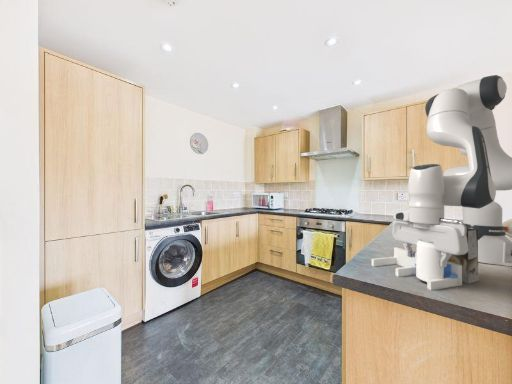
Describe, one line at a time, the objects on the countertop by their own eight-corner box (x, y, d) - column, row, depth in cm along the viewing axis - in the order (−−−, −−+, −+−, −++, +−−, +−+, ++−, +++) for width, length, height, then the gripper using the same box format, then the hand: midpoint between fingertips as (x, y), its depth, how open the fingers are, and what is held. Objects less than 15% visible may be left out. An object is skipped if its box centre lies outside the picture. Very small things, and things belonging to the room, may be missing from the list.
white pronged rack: (397, 262, 83) (397, 247, 83) (461, 285, 62) (462, 265, 62) (371, 265, 79) (371, 249, 79) (430, 290, 59) (430, 269, 59)
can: (449, 285, 61) (449, 243, 61) (423, 283, 62) (424, 242, 62) (434, 276, 67) (435, 238, 67) (411, 274, 68) (412, 237, 68)
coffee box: (479, 280, 66) (480, 229, 66) (468, 284, 64) (469, 230, 64) (444, 270, 74) (444, 224, 74) (433, 273, 72) (433, 225, 72)
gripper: (474, 220, 57) (474, 272, 57) (403, 213, 76) (403, 251, 77) (457, 221, 55) (457, 275, 55) (389, 213, 75) (388, 252, 75)
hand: (425, 261), depth 66 cm, fingers open, 8 cm apart
